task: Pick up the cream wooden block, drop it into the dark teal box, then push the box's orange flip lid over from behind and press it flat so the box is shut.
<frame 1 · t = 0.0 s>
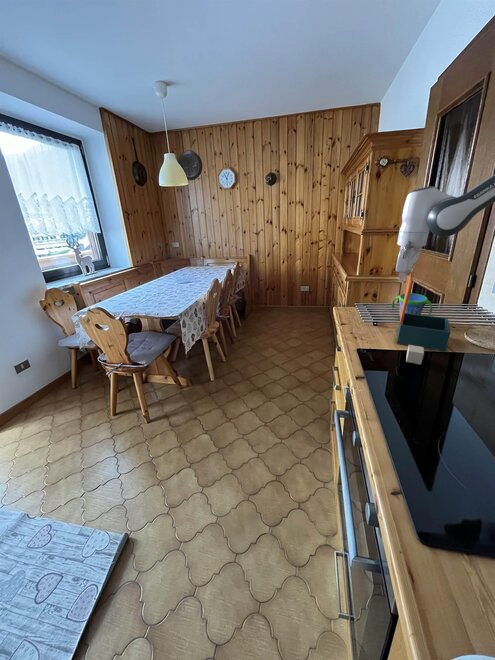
hand: (404, 278, 103), 23 cm above the counter, tool pointing down, fingers open, 8 cm apart
wipes box: (419, 339, 109), on the counter
block: (413, 359, 97), on the counter
lid: (406, 297, 104), point 16 cm above the counter, hinge at 88.0°
snack cup: (408, 319, 125), on the counter
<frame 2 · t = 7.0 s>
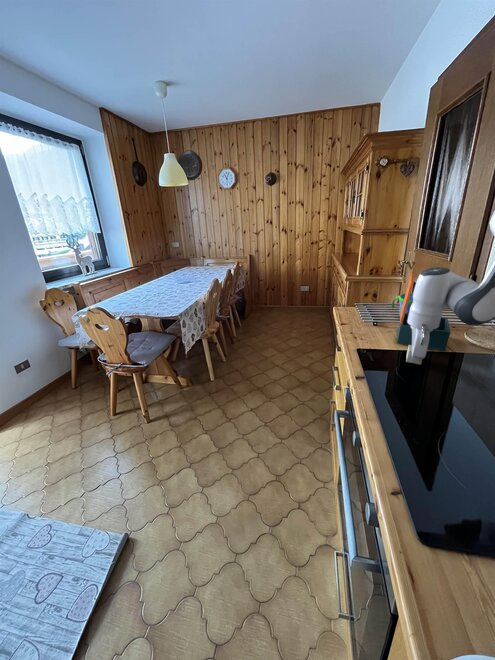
hand: (414, 355, 96), 2 cm above the counter, tool pointing down, fingers closed on block, 4 cm apart
block: (413, 359, 97), on the counter, touching gripper
lid: (406, 297, 104), point 16 cm above the counter, hinge at 86.9°
everything else where it was.
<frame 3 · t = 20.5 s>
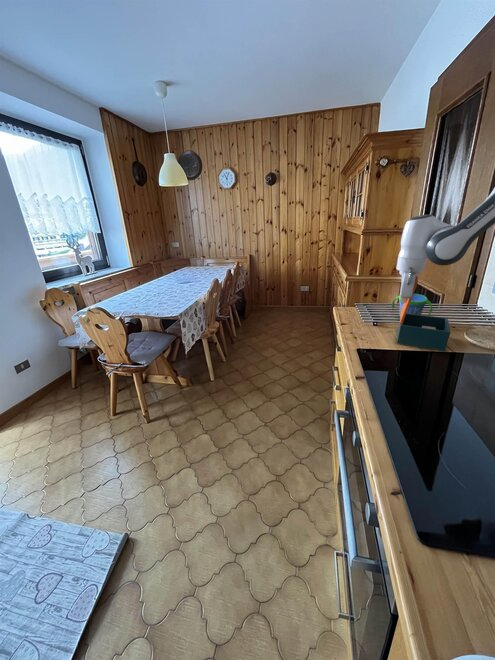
hand: (403, 301, 105), 15 cm above the counter, tool pointing down, fingers closed, pressing on lid
block: (426, 339, 107), point 1 cm above the counter, touching wipes box
lid: (408, 298, 104), point 16 cm above the counter, hinge at 82.6°, touching gripper
everything else where it was.
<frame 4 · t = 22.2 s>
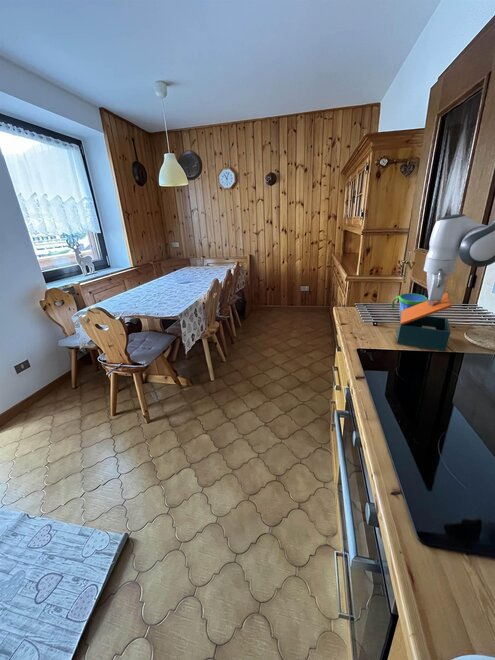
hand: (430, 304, 102), 15 cm above the counter, tool pointing down, fingers closed
lid: (424, 308, 103), point 13 cm above the counter, hinge at 34.3°, touching gripper
everything else where it was.
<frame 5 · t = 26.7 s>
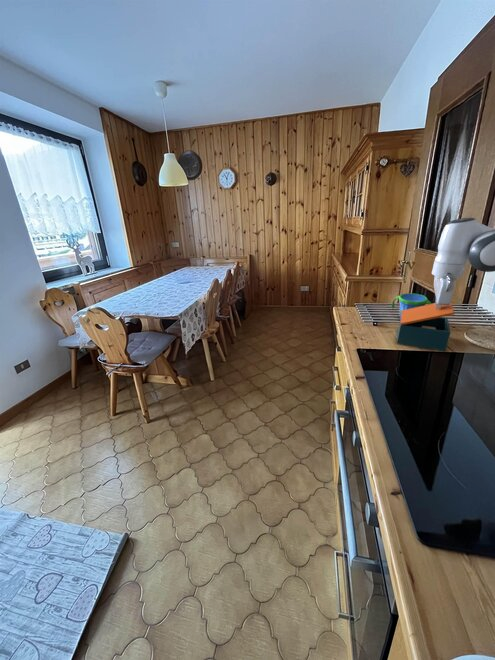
hand: (437, 307, 101), 14 cm above the counter, tool pointing down, fingers closed, pressing on lid
lid: (425, 312, 103), point 11 cm above the counter, hinge at 23.9°, touching gripper
everything else where it was.
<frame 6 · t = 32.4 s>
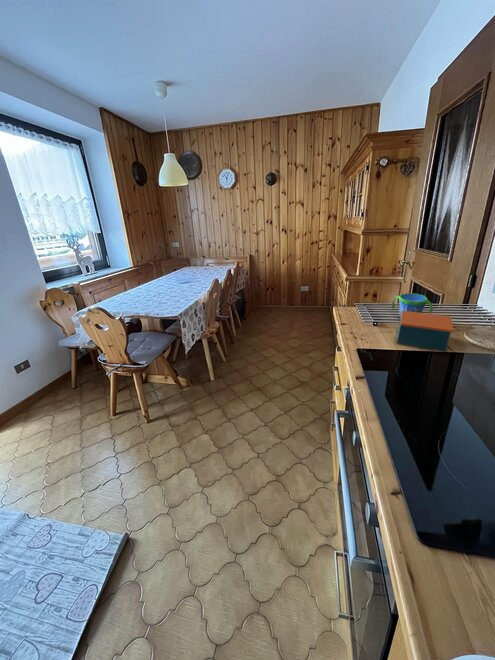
lid: (425, 320, 105), point 8 cm above the counter, hinge at -0.2°, touching wipes box
everything else where it was.
at the end: lid at +0° (first picture: +88°); block inside the target area in the wipes box (2.1 cm from its centre), point 0.7 cm above the wipes box's base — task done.
